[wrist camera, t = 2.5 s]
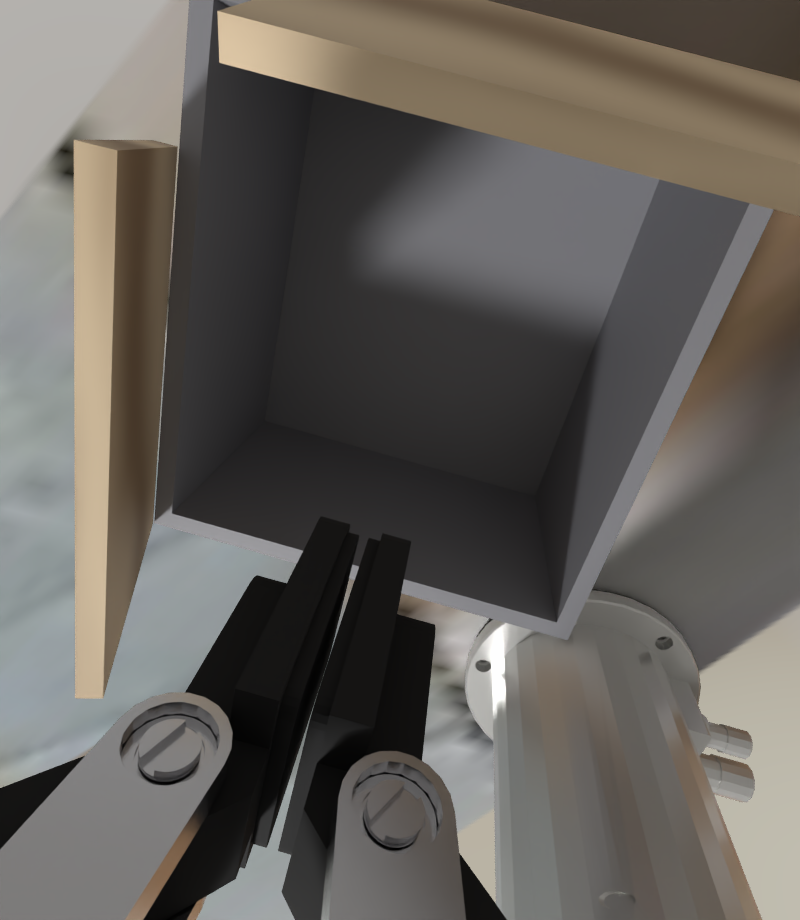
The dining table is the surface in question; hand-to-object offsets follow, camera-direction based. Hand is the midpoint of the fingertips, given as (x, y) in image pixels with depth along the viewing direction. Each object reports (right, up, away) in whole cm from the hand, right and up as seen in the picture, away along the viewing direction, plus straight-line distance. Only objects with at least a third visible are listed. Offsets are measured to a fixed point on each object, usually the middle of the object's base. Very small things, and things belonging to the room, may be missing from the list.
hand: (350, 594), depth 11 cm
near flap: (+4, +9, 0) cm, 10 cm away
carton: (+3, +9, +15) cm, 18 cm away
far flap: (-6, +4, +4) cm, 8 cm away
